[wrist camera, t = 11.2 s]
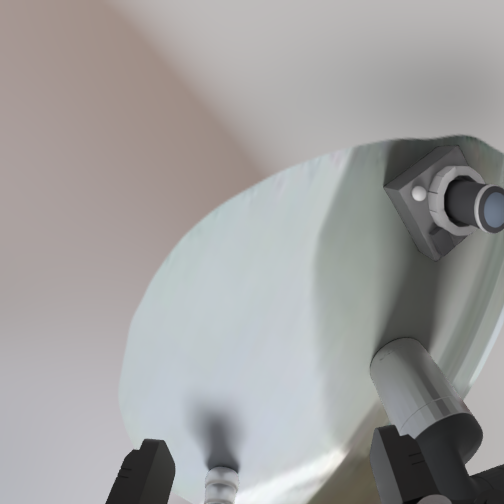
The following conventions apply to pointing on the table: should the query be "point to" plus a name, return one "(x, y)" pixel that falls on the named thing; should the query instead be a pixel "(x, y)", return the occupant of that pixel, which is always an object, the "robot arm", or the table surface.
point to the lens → (475, 204)
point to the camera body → (432, 200)
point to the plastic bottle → (221, 486)
